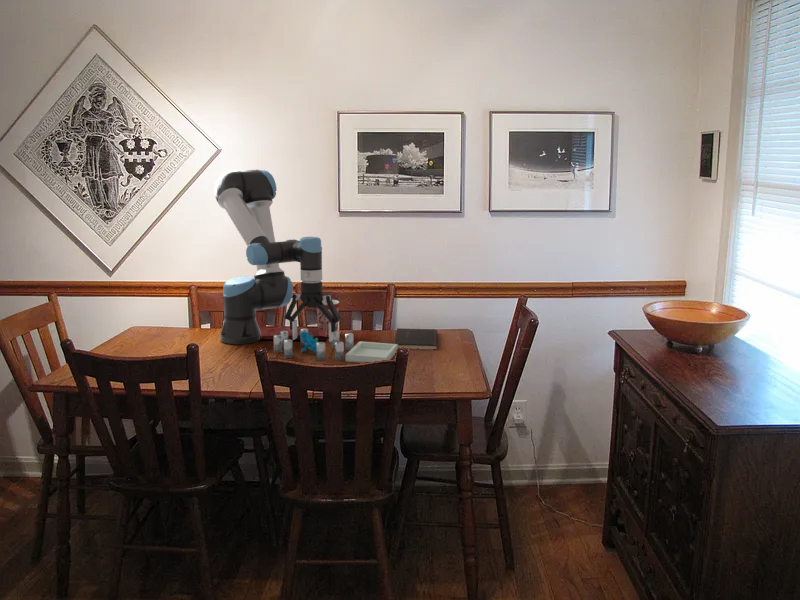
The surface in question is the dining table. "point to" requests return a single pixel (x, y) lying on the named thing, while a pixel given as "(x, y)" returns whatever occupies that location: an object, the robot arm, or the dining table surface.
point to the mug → (322, 319)
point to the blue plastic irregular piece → (309, 342)
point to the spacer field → (287, 344)
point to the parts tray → (371, 352)
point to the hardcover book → (416, 338)
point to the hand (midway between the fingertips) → (313, 339)
